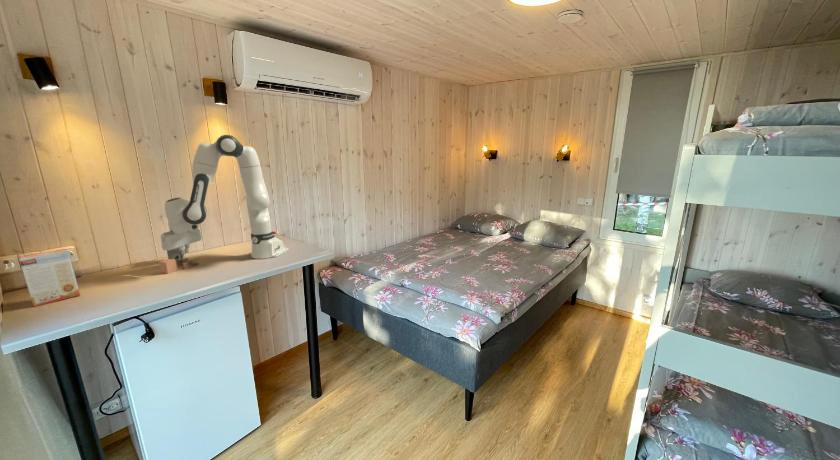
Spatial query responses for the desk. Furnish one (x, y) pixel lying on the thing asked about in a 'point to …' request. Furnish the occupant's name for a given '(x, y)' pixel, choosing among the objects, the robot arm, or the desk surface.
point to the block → (168, 266)
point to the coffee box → (175, 254)
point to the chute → (186, 263)
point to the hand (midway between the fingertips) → (185, 253)
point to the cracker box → (49, 276)
